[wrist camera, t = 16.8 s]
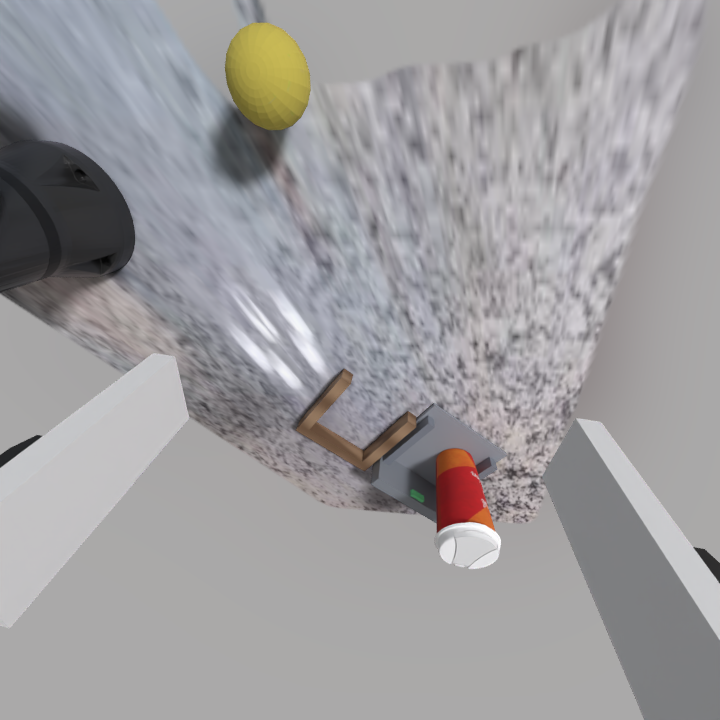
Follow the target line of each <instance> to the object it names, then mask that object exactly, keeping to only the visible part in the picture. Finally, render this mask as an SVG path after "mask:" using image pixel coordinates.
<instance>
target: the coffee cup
mask: <svg viewBox="0 0 720 720" xmlns="http://www.w3.org/2000/svg"><path fill="white" fill-rule="evenodd" d="M436 516H437V534H436V536H435V546H436V547H437V549H438V551H439V553H440V556H441V557H442V559H443V560H444V561H445V562H447V563H449V564H451V563H453V564H454V565H456V566H460V567H464V566H466V567H467V568H468V569H477V568H482V567H486V566H489V565H491V564H492V563H494V562H495V561H496V560H497V558H498V556H499V549H500V546H501V540H500V537H499V535H498V534H497V533H496V532H495V529H494V525H493V522H492V519H491V515H490V512H489V509H488V505H487V502H486V499H485V495H484V492H483V489H482V485H481V482H480V479H479V476H478V472H477V469H476V466H475V463H474V460H473V458H472V456H471V454H470V453H469V452H467V451H465V450H463V449H459V448H451V449H447V450H444V451H442V452H441V453H440V454H439V455H438V456H437V458H436Z"/></svg>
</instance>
